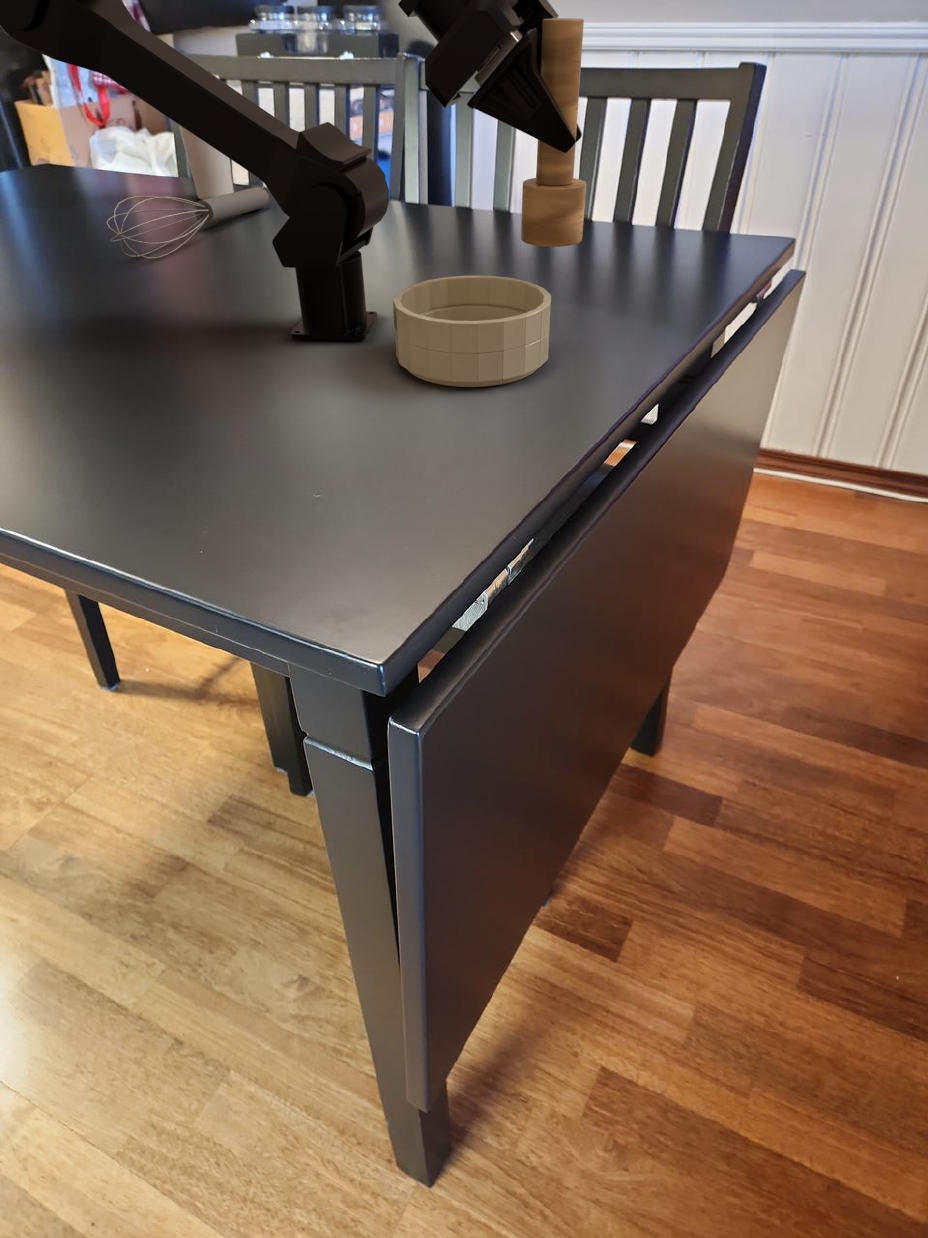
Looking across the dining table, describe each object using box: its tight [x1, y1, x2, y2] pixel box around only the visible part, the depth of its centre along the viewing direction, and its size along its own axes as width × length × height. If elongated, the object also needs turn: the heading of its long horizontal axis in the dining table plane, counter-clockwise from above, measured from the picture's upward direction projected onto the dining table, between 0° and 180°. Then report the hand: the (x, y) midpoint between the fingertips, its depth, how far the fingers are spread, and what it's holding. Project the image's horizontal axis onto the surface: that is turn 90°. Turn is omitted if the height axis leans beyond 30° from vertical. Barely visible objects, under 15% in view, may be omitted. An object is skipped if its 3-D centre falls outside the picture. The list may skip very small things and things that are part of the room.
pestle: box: [520, 17, 587, 248], centre depth 60 cm, size 5×5×14 cm
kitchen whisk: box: [106, 186, 271, 259], centre depth 102 cm, size 6×34×6 cm, turn 163°
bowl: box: [392, 275, 552, 388], centre depth 65 cm, size 12×12×5 cm
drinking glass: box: [177, 73, 235, 201], centre depth 116 cm, size 7×7×15 cm
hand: (574, 144), depth 60 cm, fingers closed on pestle, 3 cm apart
